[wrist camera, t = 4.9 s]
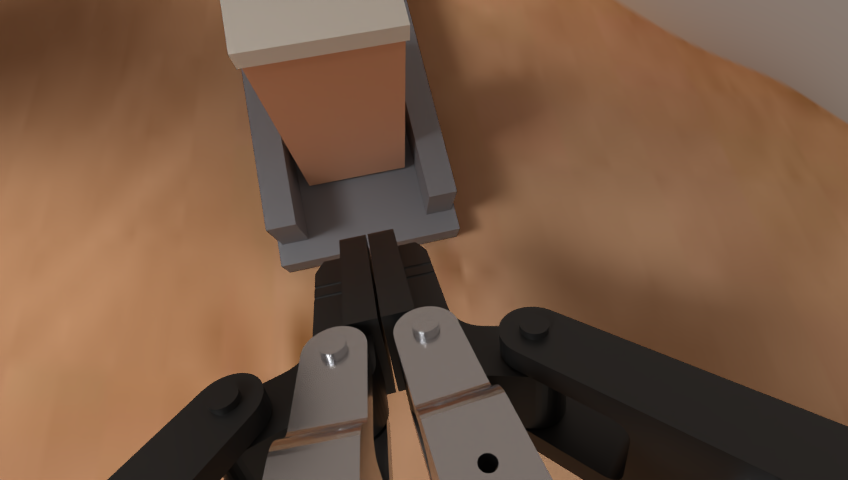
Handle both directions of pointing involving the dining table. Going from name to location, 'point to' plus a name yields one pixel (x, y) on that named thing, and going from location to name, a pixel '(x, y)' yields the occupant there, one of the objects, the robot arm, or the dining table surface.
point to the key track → (357, 184)
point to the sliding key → (327, 79)
